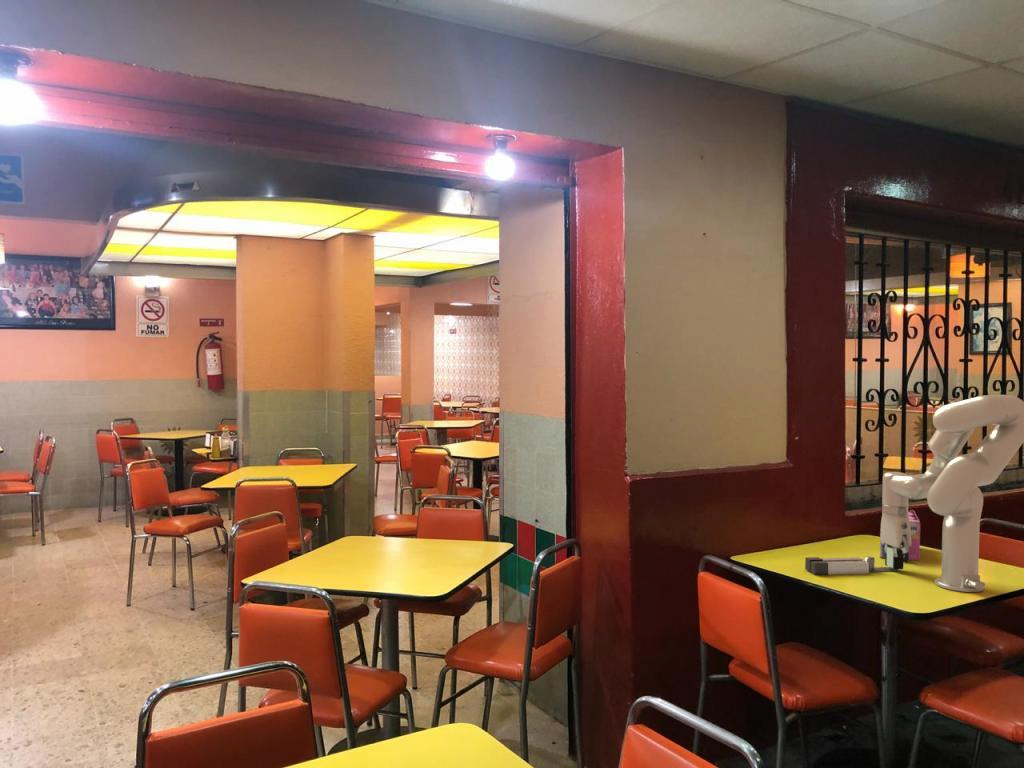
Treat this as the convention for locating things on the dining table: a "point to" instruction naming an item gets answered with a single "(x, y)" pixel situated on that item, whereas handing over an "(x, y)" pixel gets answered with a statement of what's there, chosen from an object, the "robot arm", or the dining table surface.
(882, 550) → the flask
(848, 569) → the base
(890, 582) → the dining table surface
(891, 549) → the white upright block
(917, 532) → the gum box
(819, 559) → the tong leg
